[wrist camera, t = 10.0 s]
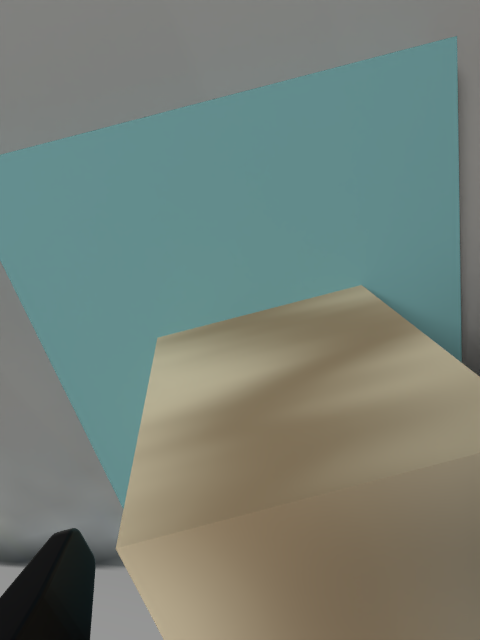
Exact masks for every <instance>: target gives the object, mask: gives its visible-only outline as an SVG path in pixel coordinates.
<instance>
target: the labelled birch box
mask: <svg viewBox="0 0 480 640" xmlns="http://www.w3.org/2000/svg"><path fill="white" fill-rule="evenodd" d="M116 550H117V552H118V554H119V556H120V557H121V559H122V561H123V563H124V565H125V567H126V569H127V571H128V572H129V574H130V576H131V578H132V580H133V582H134V584H135V586H136V588H137V590H138V592H139V593H140V595H141V597H142V599H143V601H144V603H145V605H146V607H147V609H148V611H149V612H150V614H151V616H152V618H153V620H154V622H155V624H156V626H157V628H158V630H159V631H160V633H161V635H162V637H163V639H164V640H480V377H479V376H478V375H477V374H476V373H474V372H473V371H472V370H470V369H469V368H468V367H466V366H465V365H464V364H463V363H461V362H460V361H459V360H457V359H456V358H455V357H454V356H452V355H451V354H450V353H448V352H447V351H446V350H445V349H443V348H442V347H441V346H439V345H438V344H437V343H436V342H434V341H433V340H432V339H430V338H429V337H428V336H427V335H425V334H424V333H423V332H421V331H420V330H419V329H418V328H416V327H415V326H414V325H412V324H411V323H410V322H409V321H407V320H406V319H405V318H403V317H402V316H401V315H400V314H398V313H397V312H396V311H394V310H393V309H392V308H390V307H389V306H388V305H387V304H385V303H384V302H383V301H381V300H380V299H379V298H378V297H376V296H375V295H374V294H372V293H371V292H370V291H369V290H367V289H366V288H365V287H363V286H362V285H359V286H356V287H352V288H348V289H344V290H340V291H336V292H332V293H328V294H325V295H321V296H317V297H313V298H309V299H305V300H301V301H298V302H294V303H290V304H286V305H282V306H278V307H274V308H270V309H267V310H263V311H259V312H255V313H251V314H247V315H243V316H240V317H236V318H232V319H228V320H224V321H220V322H216V323H212V324H209V325H205V326H201V327H197V328H193V329H189V330H185V331H181V332H178V333H174V334H170V335H166V336H162V337H158V338H157V343H156V348H155V353H154V358H153V363H152V368H151V373H150V378H149V383H148V388H147V393H146V398H145V403H144V408H143V413H142V419H141V424H140V429H139V434H138V439H137V444H136V449H135V454H134V459H133V464H132V469H131V474H130V479H129V484H128V489H127V495H126V500H125V505H124V510H123V515H122V520H121V525H120V530H119V535H118V540H117V545H116Z"/></svg>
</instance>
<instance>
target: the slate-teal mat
mask: <svg viewBox="0 0 480 640" xmlns="http://www.w3.org/2000/svg"><path fill="white" fill-rule="evenodd" d="M0 261H1V263H2V265H3V267H4V269H5V271H6V273H7V275H8V277H9V279H10V281H11V283H12V285H13V287H14V289H15V291H16V293H17V295H18V297H19V299H20V301H21V303H22V305H23V307H24V309H25V311H26V313H27V315H28V317H29V319H30V321H31V323H32V325H33V327H34V329H35V332H36V334H37V336H38V338H39V340H40V342H41V344H42V346H43V348H44V350H45V352H46V354H47V356H48V358H49V360H50V362H51V364H52V366H53V368H54V370H55V372H56V374H57V376H58V378H59V380H60V382H61V384H62V386H63V388H64V390H65V392H66V394H67V396H68V398H69V400H70V402H71V404H72V406H73V408H74V410H75V412H76V414H77V416H78V418H79V420H80V422H81V424H82V426H83V428H84V430H85V432H86V434H87V436H88V438H89V440H90V442H91V444H92V446H93V449H94V451H95V453H96V455H97V457H98V459H99V461H100V463H101V465H102V467H103V469H104V471H105V473H106V475H107V477H108V479H109V481H110V483H111V485H112V487H113V489H114V491H115V493H116V495H117V497H118V499H119V501H120V503H121V505H122V507H123V509H124V505H125V500H126V495H127V489H128V484H129V479H130V474H131V469H132V464H133V459H134V454H135V449H136V444H137V439H138V434H139V429H140V424H141V419H142V413H143V408H144V403H145V398H146V393H147V388H148V383H149V378H150V373H151V368H152V363H153V358H154V353H155V348H156V343H157V338H158V337H162V336H166V335H170V334H174V333H178V332H181V331H185V330H189V329H193V328H197V327H201V326H205V325H209V324H212V323H216V322H220V321H224V320H228V319H232V318H236V317H240V316H243V315H247V314H251V313H255V312H259V311H263V310H267V309H270V308H274V307H278V306H282V305H286V304H290V303H294V302H298V301H301V300H305V299H309V298H313V297H317V296H321V295H325V294H328V293H332V292H336V291H340V290H344V289H348V288H352V287H356V286H359V285H362V286H363V287H365V288H366V289H367V290H369V291H370V292H371V293H372V294H374V295H375V296H376V297H378V298H379V299H380V300H381V301H383V302H384V303H385V304H387V305H388V306H389V307H390V308H392V309H393V310H394V311H396V312H397V313H398V314H400V315H401V316H402V317H403V318H405V319H406V320H407V321H409V322H410V323H411V324H412V325H414V326H415V327H416V328H418V329H419V330H420V331H421V332H423V333H424V334H425V335H427V336H428V337H429V338H430V339H432V340H433V341H434V342H436V343H437V344H438V345H439V346H441V347H442V348H443V349H445V350H446V351H447V352H448V353H450V354H451V355H452V356H454V357H455V358H456V359H457V360H459V361H460V362H461V363H462V352H461V284H460V215H459V146H458V78H457V36H455V37H451V38H447V39H444V40H440V41H436V42H432V43H428V44H424V45H420V46H417V47H413V48H409V49H405V50H401V51H397V52H394V53H390V54H386V55H382V56H378V57H374V58H371V59H367V60H363V61H359V62H355V63H351V64H348V65H344V66H340V67H336V68H332V69H328V70H324V71H321V72H317V73H313V74H309V75H305V76H301V77H298V78H294V79H290V80H286V81H282V82H278V83H275V84H271V85H267V86H263V87H259V88H255V89H251V90H248V91H244V92H240V93H236V94H232V95H228V96H225V97H221V98H217V99H213V100H209V101H205V102H202V103H198V104H194V105H190V106H186V107H182V108H179V109H175V110H171V111H167V112H163V113H159V114H155V115H152V116H148V117H144V118H140V119H136V120H132V121H129V122H125V123H121V124H117V125H113V126H109V127H106V128H102V129H98V130H94V131H90V132H86V133H82V134H79V135H75V136H71V137H67V138H63V139H59V140H56V141H52V142H48V143H44V144H40V145H36V146H33V147H29V148H25V149H21V150H17V151H13V152H9V153H6V154H2V155H0Z"/></svg>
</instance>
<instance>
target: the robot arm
mask: <svg viewBox="0 0 480 640" xmlns="http://www.w3.org/2000/svg"><path fill="white" fill-rule="evenodd" d="M94 579H95V559H94V556H93V553H92V552H91V550H90V548H89V547H88V545H87V543H86V541H85V540H84V538H83V536H82V534H81V533H80V531H79V530H78V529H76V528H72V529H68V530H64V531H61V532H57V533H55V534H54V535H52V536H51V537H50V538H49V540H48V541H47V542H46V543H45V544H44V546H43V547H42V548H41V549H40V550H39V552H38V553H37V554H36V555H35V556H34V558H33V559H32V560H31V561H30V562H29V564H28V565H27V566H26V567H25V568H24V570H23V571H22V572H21V573H20V574H19V576H18V577H17V578H16V579H15V581H14V582H13V583H12V584H11V585H10V587H9V588H8V589H7V590H6V591H5V593H4V594H3V595H2V596H1V597H0V640H90V631H91V618H92V605H93V592H94Z"/></svg>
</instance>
